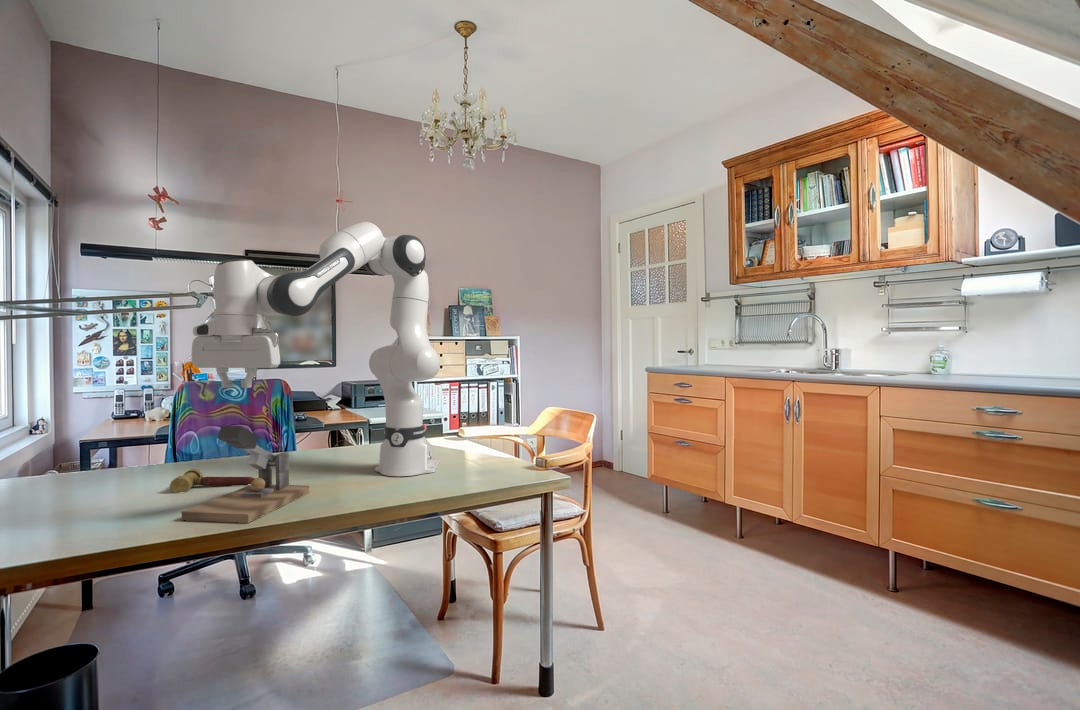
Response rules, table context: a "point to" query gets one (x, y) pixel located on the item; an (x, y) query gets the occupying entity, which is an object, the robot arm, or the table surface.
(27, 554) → the table surface
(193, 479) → the gavel
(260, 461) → the lever
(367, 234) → the robot arm
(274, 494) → the nutcracker base
